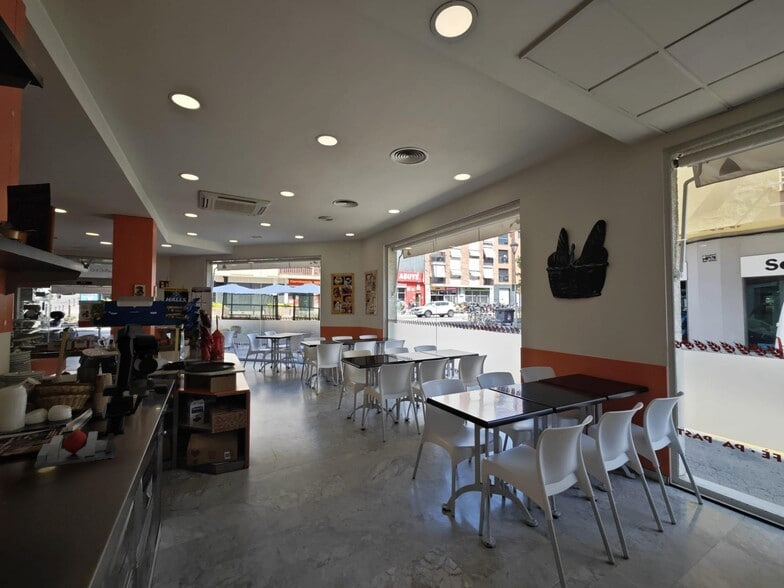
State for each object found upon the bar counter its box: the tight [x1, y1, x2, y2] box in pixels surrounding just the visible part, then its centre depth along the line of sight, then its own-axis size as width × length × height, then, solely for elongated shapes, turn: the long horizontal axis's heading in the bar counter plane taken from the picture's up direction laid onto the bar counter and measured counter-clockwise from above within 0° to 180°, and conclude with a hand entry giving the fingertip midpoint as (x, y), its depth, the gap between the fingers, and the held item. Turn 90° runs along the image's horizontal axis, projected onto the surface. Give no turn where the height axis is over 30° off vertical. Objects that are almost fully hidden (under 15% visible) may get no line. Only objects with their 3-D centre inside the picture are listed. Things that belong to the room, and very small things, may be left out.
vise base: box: [33, 434, 116, 469], centre depth 116 cm, size 12×19×6 cm, turn 128°
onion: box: [62, 427, 88, 454], centre depth 115 cm, size 6×6×8 cm
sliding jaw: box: [84, 430, 115, 456], centre depth 119 cm, size 9×7×5 cm
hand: (132, 414), depth 124 cm, fingers closed
